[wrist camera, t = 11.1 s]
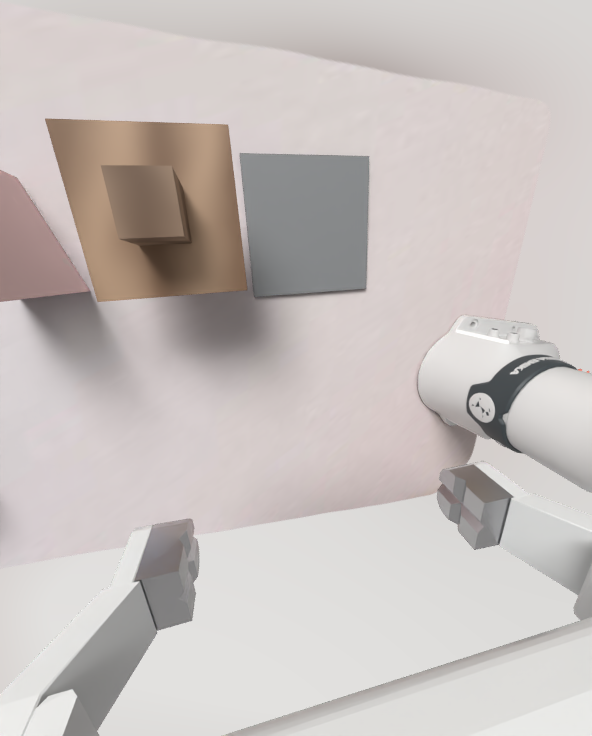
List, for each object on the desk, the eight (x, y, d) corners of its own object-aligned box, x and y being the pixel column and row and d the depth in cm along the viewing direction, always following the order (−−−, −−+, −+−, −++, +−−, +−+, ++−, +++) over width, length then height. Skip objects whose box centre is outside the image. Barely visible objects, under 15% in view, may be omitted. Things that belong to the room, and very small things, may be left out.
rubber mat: (367, 157, 34) (369, 156, 33) (364, 288, 38) (366, 288, 38) (239, 155, 31) (239, 153, 30) (254, 296, 36) (254, 296, 35)
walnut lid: (228, 128, 22) (228, 87, 17) (246, 289, 26) (251, 293, 21) (50, 123, 19) (-7, 74, 15) (100, 301, 23) (68, 308, 19)
